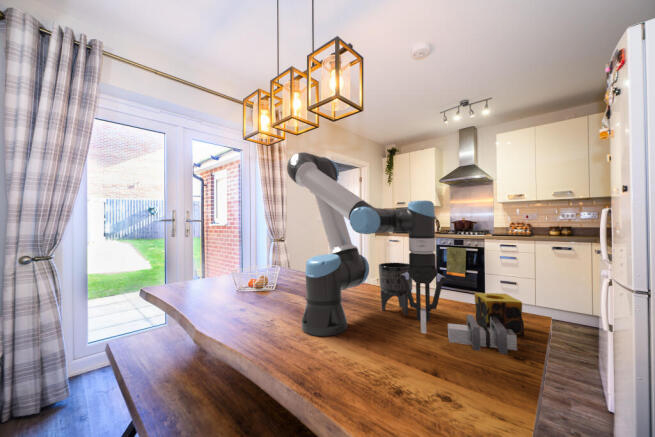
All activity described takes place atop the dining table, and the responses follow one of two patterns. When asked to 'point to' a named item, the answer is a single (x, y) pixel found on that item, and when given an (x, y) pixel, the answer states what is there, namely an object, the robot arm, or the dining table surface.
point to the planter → (394, 284)
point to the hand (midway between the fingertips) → (423, 331)
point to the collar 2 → (500, 335)
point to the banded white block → (487, 336)
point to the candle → (499, 311)
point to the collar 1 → (474, 332)
